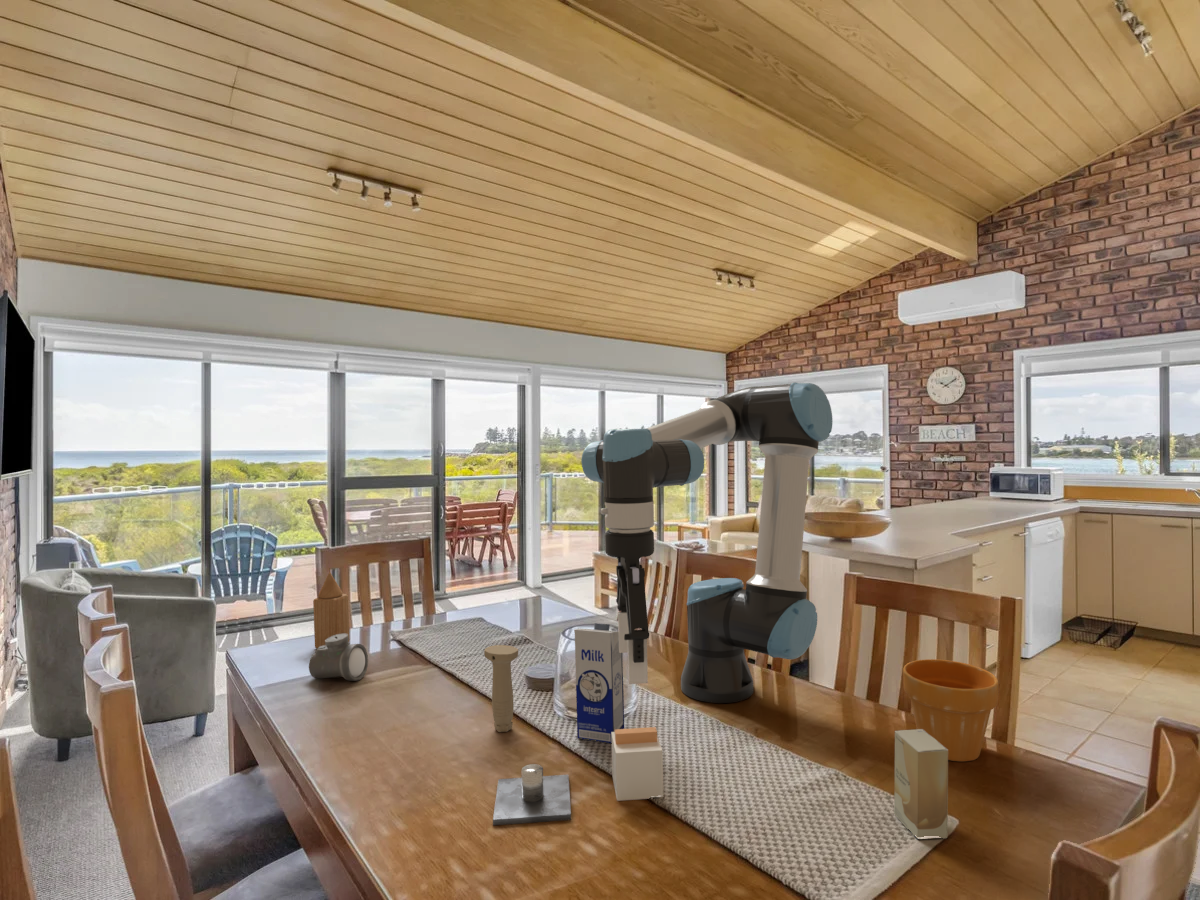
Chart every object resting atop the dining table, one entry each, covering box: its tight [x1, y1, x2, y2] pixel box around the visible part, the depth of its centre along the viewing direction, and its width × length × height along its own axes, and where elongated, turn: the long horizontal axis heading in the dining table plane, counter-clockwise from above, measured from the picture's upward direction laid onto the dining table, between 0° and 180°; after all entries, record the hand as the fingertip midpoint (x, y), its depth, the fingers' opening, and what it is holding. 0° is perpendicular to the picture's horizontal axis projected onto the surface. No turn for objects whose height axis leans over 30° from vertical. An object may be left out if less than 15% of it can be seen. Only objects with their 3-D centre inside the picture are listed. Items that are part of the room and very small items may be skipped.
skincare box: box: [893, 728, 949, 839], centre depth 90 cm, size 6×4×12 cm
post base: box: [492, 763, 572, 826], centre depth 99 cm, size 11×11×5 cm
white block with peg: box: [611, 726, 664, 802], centre depth 102 cm, size 7×7×9 cm
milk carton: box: [573, 622, 625, 744], centre depth 120 cm, size 7×7×20 cm
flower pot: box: [902, 658, 999, 763], centre depth 111 cm, size 14×14×13 cm
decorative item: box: [312, 570, 351, 649], centre depth 176 cm, size 7×7×20 cm
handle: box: [483, 644, 519, 733], centre depth 123 cm, size 5×6×15 cm
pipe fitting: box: [308, 633, 369, 682], centre depth 152 cm, size 12×8×10 cm, turn 76°
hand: (632, 666), depth 102 cm, fingers open, 13 cm apart
